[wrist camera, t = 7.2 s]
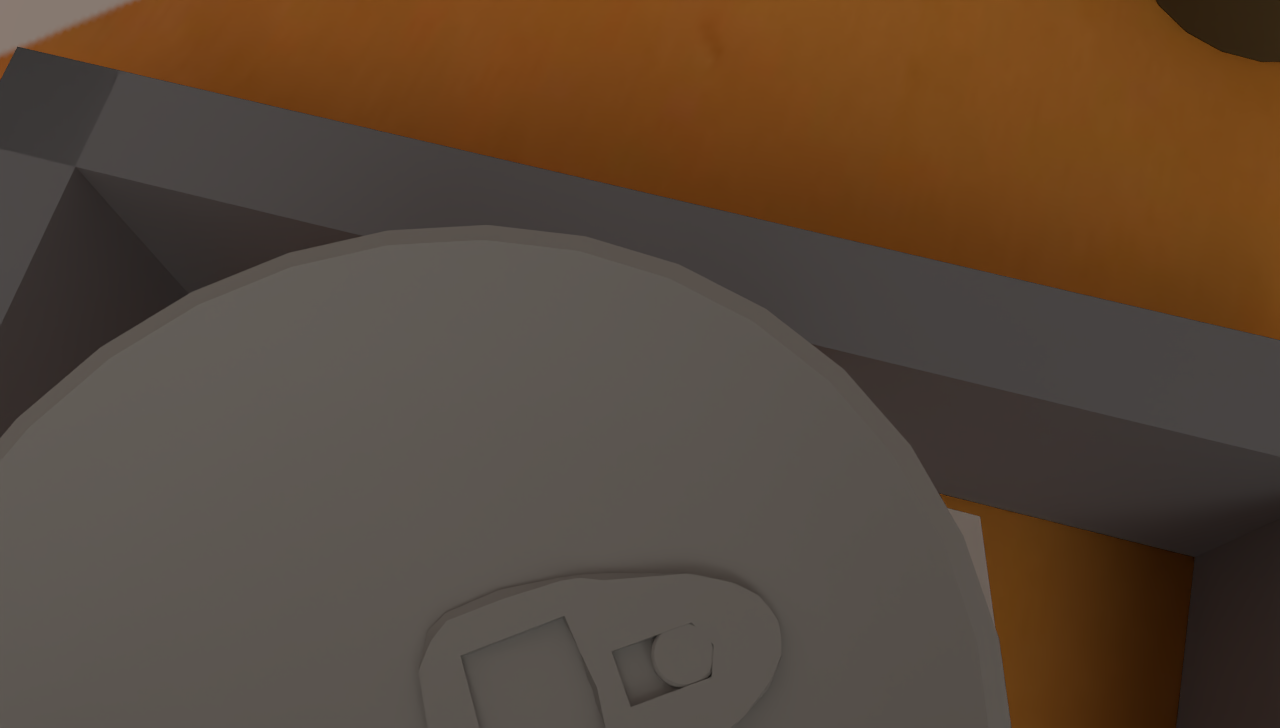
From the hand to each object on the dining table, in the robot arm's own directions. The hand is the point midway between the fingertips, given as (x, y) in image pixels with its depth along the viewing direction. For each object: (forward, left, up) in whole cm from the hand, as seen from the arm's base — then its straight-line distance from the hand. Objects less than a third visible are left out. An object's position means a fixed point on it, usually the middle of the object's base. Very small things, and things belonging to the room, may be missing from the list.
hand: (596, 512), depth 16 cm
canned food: (0, +3, -4) cm, 5 cm away
